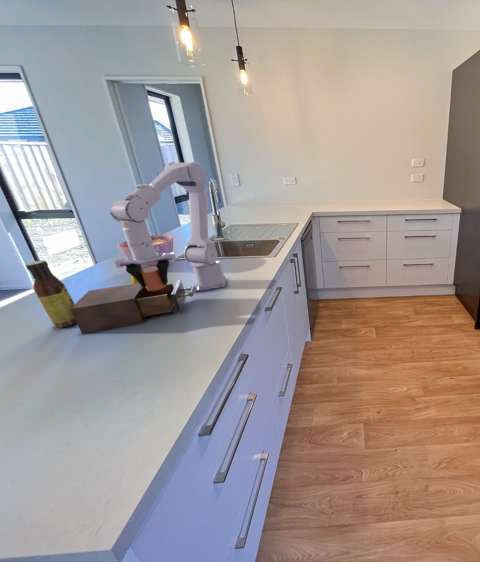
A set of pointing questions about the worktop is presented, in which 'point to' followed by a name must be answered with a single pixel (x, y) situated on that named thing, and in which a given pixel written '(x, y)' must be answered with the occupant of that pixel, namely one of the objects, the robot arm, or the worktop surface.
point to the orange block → (152, 279)
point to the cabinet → (108, 308)
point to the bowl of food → (160, 244)
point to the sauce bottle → (52, 294)
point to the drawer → (163, 299)
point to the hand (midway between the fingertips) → (155, 285)
